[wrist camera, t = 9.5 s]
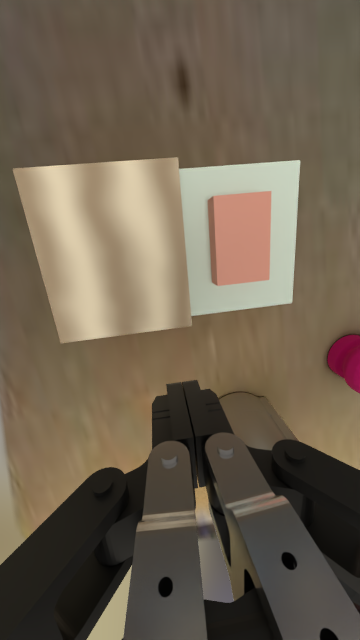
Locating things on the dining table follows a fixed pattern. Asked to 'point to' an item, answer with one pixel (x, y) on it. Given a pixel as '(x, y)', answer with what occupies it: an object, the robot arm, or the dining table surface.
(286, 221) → the mat
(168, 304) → the board
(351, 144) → the dining table surface
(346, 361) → the pepper mill
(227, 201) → the tile
